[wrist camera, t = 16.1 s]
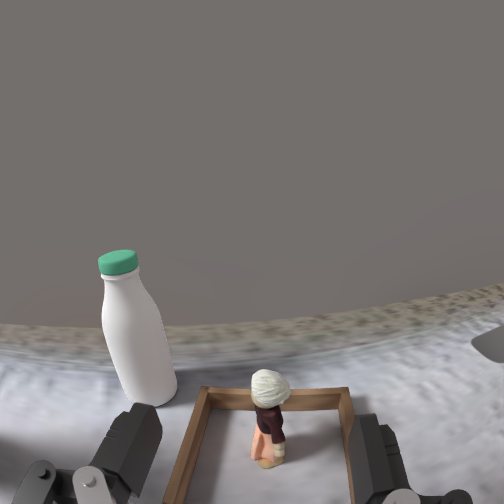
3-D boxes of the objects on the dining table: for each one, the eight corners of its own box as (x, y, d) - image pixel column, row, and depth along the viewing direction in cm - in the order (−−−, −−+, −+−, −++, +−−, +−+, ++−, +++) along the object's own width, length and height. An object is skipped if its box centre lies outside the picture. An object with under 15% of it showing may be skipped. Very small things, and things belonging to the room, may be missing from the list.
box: (170, 512, 19) (162, 501, 18) (204, 401, 35) (201, 386, 34) (363, 518, 17) (371, 508, 16) (344, 402, 33) (348, 386, 32)
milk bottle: (188, 393, 36) (161, 253, 30) (139, 417, 31) (92, 272, 25) (162, 367, 42) (136, 241, 36) (118, 385, 37) (79, 255, 31)
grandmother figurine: (239, 437, 29) (229, 355, 25) (270, 428, 30) (269, 344, 26) (266, 488, 22) (263, 414, 18) (300, 474, 23) (312, 397, 19)
